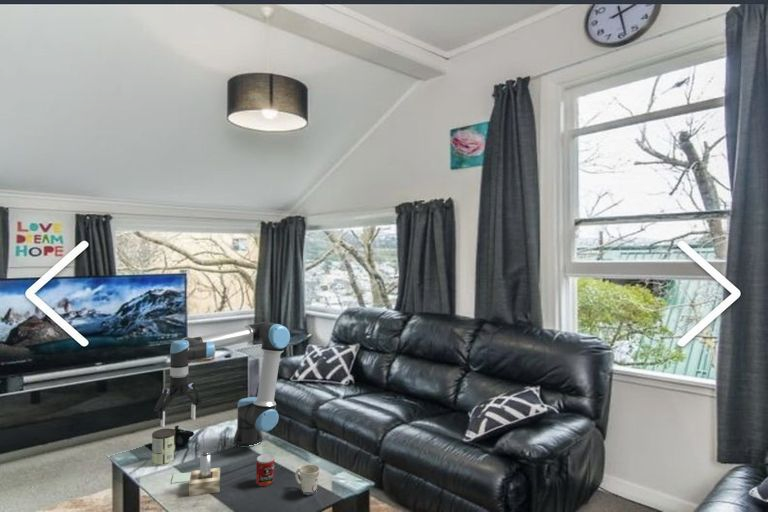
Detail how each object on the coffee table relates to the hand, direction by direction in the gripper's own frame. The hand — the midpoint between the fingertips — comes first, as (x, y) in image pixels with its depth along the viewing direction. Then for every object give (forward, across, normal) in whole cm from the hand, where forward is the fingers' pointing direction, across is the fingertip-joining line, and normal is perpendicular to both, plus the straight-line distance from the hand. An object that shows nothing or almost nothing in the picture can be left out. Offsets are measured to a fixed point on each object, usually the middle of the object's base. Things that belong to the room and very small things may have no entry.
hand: (178, 422), depth 210 cm
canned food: (+25, -26, +31) cm, 47 cm away
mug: (+25, -34, +49) cm, 65 cm away
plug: (+25, -5, +17) cm, 30 cm away
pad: (+25, -1, +2) cm, 25 cm away
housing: (+25, -5, +17) cm, 30 cm away
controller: (+25, -15, -31) cm, 42 cm away
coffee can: (+25, -2, -20) cm, 32 cm away
